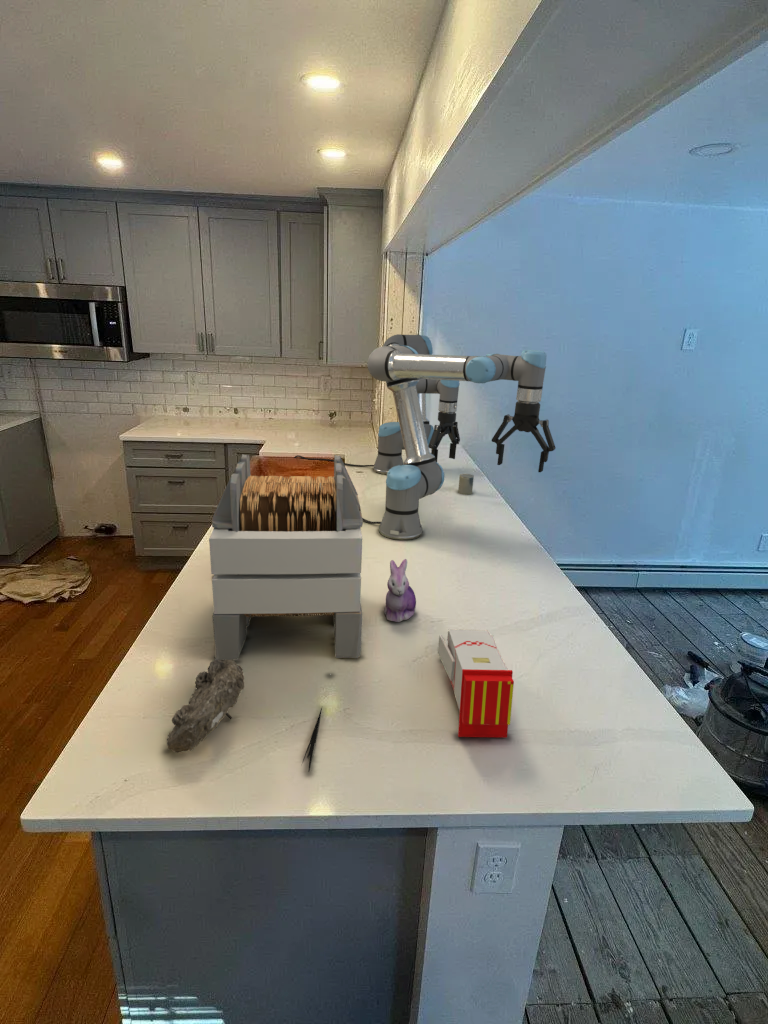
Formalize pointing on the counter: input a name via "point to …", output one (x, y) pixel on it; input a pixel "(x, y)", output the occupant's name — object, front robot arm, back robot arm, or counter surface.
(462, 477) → the can
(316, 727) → the feather
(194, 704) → the fossil
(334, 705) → the counter surface
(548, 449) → the front robot arm
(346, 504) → the record crate
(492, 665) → the toy
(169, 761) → the counter surface
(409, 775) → the counter surface
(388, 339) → the back robot arm
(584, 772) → the counter surface
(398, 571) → the figurine
